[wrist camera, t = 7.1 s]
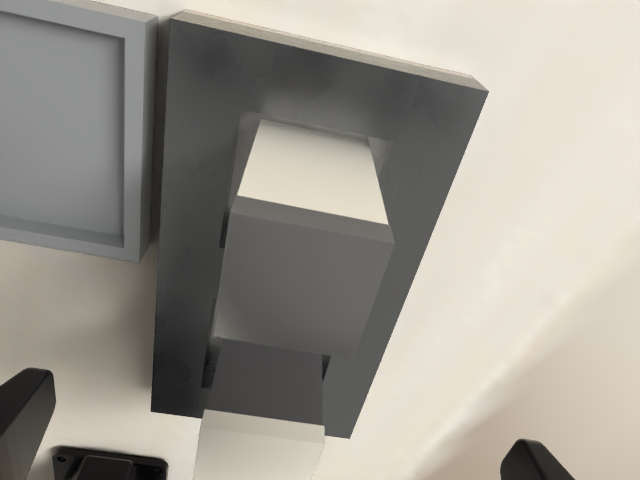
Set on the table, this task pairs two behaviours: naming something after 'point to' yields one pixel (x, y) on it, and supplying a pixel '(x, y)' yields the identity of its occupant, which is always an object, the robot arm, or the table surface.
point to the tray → (77, 126)
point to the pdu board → (230, 162)
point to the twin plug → (262, 415)
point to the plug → (303, 243)
